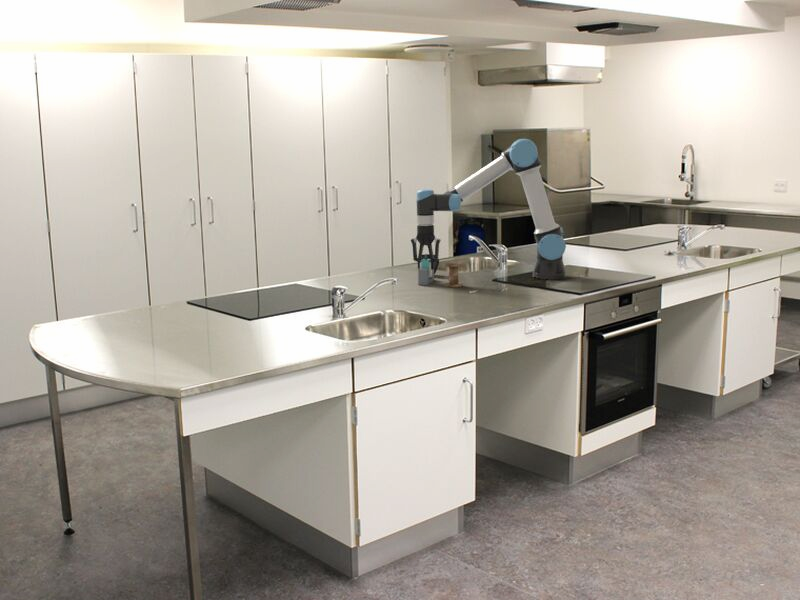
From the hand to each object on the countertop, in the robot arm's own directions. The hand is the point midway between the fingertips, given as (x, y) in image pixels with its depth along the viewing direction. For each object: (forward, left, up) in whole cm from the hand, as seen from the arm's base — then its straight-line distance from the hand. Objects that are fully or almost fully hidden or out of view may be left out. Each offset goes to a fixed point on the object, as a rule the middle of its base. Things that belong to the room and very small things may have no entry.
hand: (426, 276), depth 394 cm
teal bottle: (0, 0, 0) cm, 0 cm away
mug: (+2, -17, -3) cm, 17 cm away
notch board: (0, 0, -3) cm, 3 cm away
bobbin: (-14, +7, -3) cm, 16 cm away
